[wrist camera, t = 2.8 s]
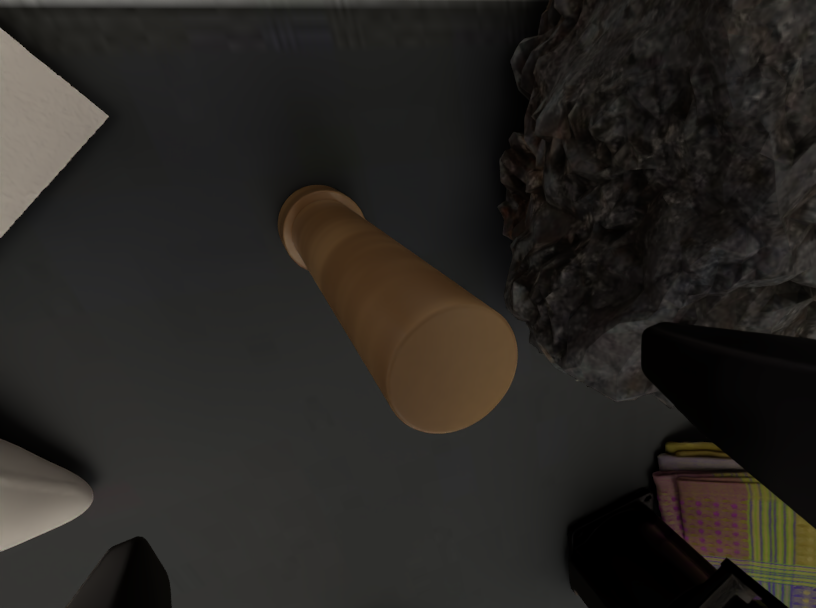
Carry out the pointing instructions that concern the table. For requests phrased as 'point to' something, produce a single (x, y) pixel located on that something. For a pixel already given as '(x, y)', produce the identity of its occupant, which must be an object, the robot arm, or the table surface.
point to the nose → (36, 495)
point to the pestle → (401, 314)
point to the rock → (661, 178)
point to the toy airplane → (36, 127)
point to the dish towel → (736, 520)
